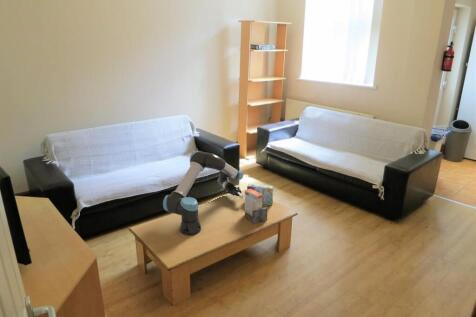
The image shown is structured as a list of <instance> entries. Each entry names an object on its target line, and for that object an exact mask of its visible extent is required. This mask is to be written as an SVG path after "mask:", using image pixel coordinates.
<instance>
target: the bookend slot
mask: <svg viewBox="0 0 476 317" xmlns="http://www.w3.org/2000/svg"><path fill="white" fill-rule="evenodd" d="M268 210H269V209H268V207H267V206H266V207H262V209H258V210H254V211H252V217H251V216H250V215H248V214H247V213H246V212H245V211H244V217H245V218H246V219H247V220H248V221H249V222H251V223H252V224H257V223H261V222H264V221H267V220H268Z"/></svg>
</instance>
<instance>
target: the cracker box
mask: <svg viewBox="0 0 476 317" xmlns="http://www.w3.org/2000/svg"><path fill="white" fill-rule="evenodd" d="M262 198H263V195H262V194H260V193H258V192H256V191H254V190H252V189H248V190H247V189H245V190H244V213H245V212H246V213H247V214H248V215H250V216H251V217H252V211H254V210H258V209H262V208H263V204H262Z"/></svg>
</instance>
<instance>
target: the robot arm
mask: <svg viewBox="0 0 476 317" xmlns="http://www.w3.org/2000/svg"><path fill="white" fill-rule="evenodd" d="M205 169H211V170H215V171H218V175H219V177H218V178H217V183H218V184H219V185H220V187H222V188H224V190H225V193H228V194H230V195H232V196H235V197H238V198H240V199H243V198H244V196H243V194H242V190H241V188H240V186H235V184H234V183H232V182H231V180H229V178H231V179H234V180H240V181H241V180H242V179H243V178H244V172H243V170H238V169H236V168H234V167H233V166H232V165H230V164H228V163H227V162H226V161H225V159H223V158H221V157H220V156H218V155H216V154H215V153H212V152H211V153H210V152H205V151H202V150H195V151H192V153H191V154H190V156H189V168H188V169H187V171H186V173H185V174H184V176H183V178H182V179H181V181H180V182H179V184H178V186H177V187H176V188H175V190H173V191H171V193H170V194H167V195H165V196H164V198H163V202H162V206H163V209H164V211H166V212H168V213H171V214H174V215H178V216H180V217H181V222H180V225H179V233H181V234H182V235H185V236H194V235H197V234H199V233H200V232H201V230H202V224H201V223H200V220H199V205H198V200H197V199H196V198H194V197H191V196H188V197H187V195H188V194H189V191H190V190H191V188H192V187H193V184H194V183H195V181H196V180H197V178H198V176H199V174H200V173H201V172H203V171H204V170H205Z"/></svg>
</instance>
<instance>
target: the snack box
mask: <svg viewBox="0 0 476 317" xmlns="http://www.w3.org/2000/svg"><path fill="white" fill-rule="evenodd" d="M248 189H252V190H254V191H256V192H258V193H260V194H262V195H263V198H262V205H267V206H272V205H273V203H274V186H273V185H264V184H263V185H262V184H257V183H256V184H254V183H248V184H247V186H246V190H248Z"/></svg>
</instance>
